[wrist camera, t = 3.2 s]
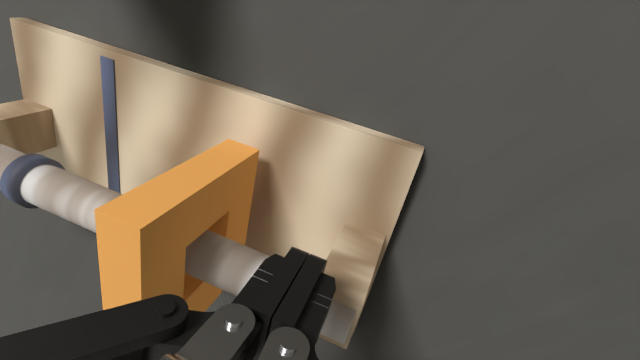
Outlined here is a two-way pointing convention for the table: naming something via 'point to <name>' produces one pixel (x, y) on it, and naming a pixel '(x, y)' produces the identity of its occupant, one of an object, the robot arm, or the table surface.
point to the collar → (174, 226)
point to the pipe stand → (191, 140)
